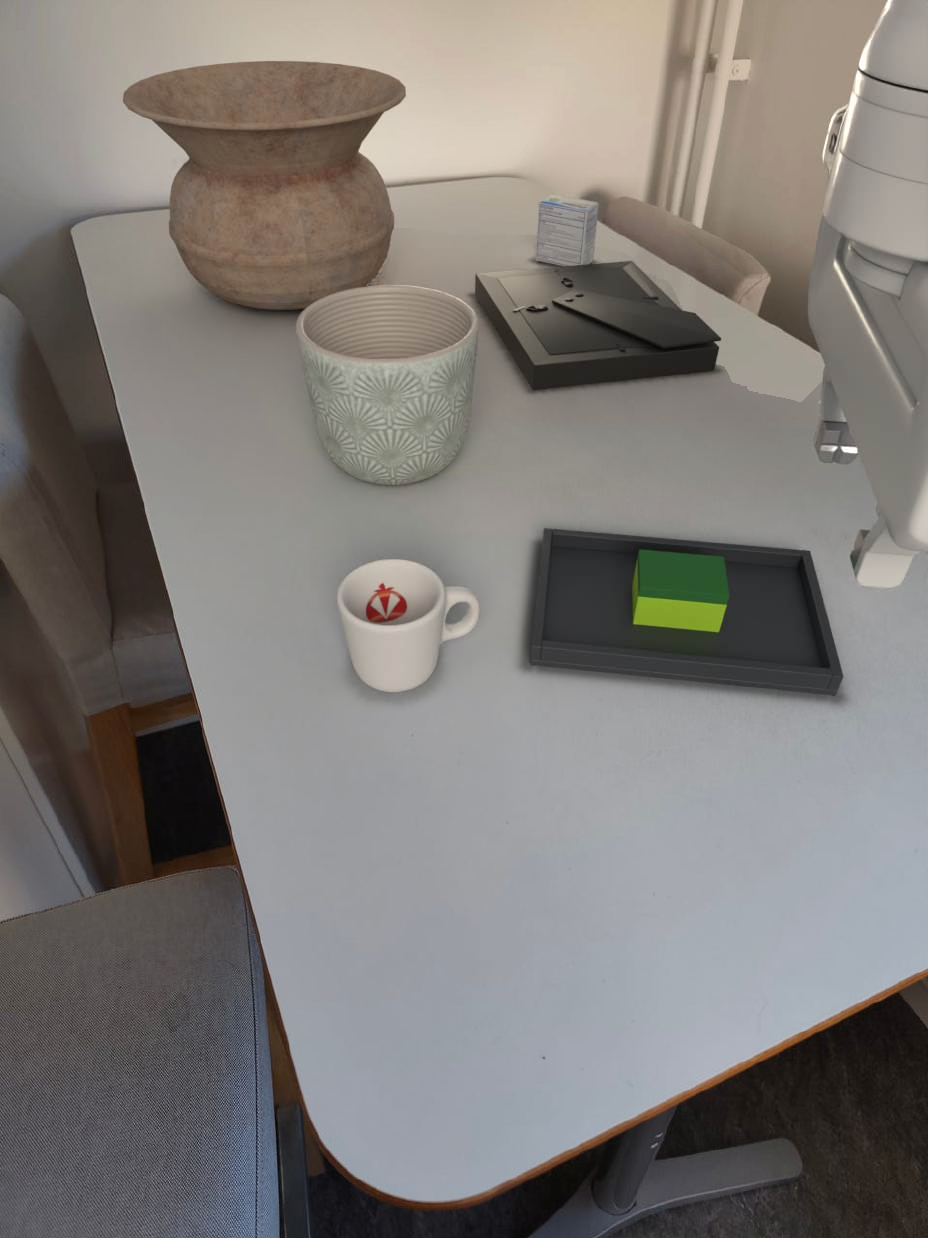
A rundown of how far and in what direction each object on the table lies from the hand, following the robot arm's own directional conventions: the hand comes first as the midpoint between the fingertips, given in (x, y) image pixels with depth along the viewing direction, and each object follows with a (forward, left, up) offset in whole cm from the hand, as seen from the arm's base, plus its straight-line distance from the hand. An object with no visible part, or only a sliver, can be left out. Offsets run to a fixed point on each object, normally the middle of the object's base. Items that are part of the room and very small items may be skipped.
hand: (850, 511), depth 39 cm
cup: (+23, -14, -27) cm, 38 cm away
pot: (+53, -84, -27) cm, 103 cm away
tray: (+2, -23, -27) cm, 35 cm away
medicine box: (+15, -102, -27) cm, 106 cm away
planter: (+30, -43, -27) cm, 59 cm away
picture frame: (+11, -78, -27) cm, 83 cm away
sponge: (+2, -23, -26) cm, 35 cm away
